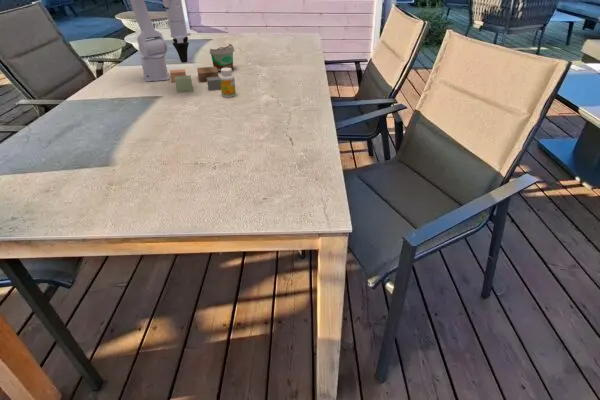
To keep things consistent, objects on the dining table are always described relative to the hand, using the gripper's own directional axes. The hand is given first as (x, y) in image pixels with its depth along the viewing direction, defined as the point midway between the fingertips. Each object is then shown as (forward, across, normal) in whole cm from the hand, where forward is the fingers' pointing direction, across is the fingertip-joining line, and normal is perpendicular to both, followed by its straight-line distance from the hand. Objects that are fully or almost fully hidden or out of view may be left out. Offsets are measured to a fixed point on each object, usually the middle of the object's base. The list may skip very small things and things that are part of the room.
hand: (184, 60), depth 143 cm
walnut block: (+11, +12, -8) cm, 19 cm away
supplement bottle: (+12, -10, -14) cm, 21 cm away
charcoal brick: (+12, -1, -10) cm, 16 cm away
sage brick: (+11, 0, +2) cm, 12 cm away
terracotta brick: (+11, +14, +4) cm, 18 cm away
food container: (+11, +22, -17) cm, 30 cm away
